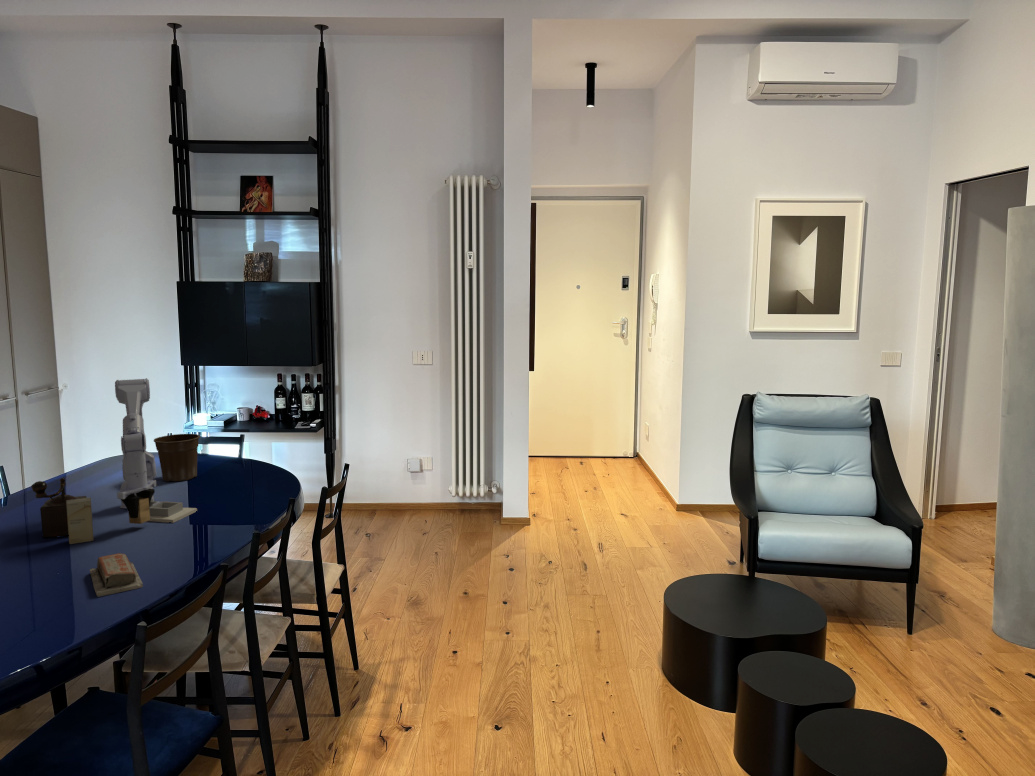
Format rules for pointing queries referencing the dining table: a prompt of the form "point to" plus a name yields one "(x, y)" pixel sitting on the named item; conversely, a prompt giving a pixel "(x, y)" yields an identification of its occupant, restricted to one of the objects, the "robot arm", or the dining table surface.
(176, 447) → the plant pot
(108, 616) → the dining table surface
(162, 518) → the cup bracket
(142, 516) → the wooden block
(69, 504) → the skincare box
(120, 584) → the packaged product
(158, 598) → the dining table surface
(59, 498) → the manual coffee grinder
